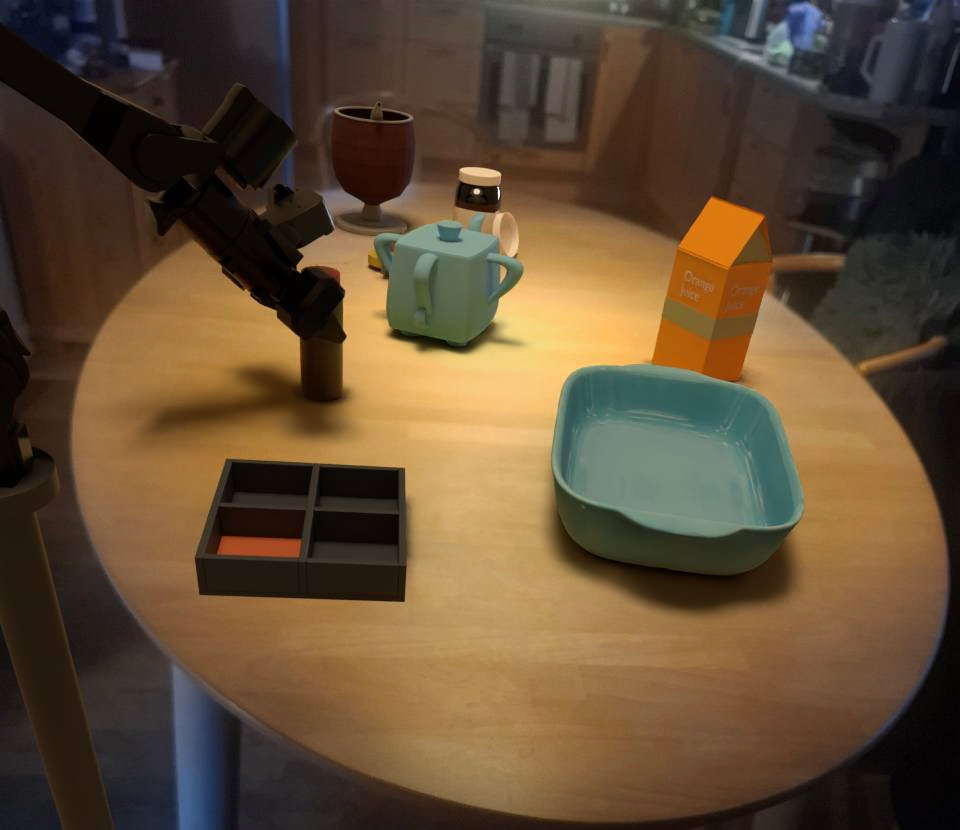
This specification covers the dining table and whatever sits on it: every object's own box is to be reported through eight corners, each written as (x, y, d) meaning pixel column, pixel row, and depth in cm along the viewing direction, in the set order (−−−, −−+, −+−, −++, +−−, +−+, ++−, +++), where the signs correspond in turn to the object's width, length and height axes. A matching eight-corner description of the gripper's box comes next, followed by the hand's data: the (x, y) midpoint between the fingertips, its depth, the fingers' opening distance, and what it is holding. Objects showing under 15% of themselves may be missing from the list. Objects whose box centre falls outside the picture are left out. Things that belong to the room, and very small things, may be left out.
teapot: (522, 351, 115) (536, 242, 107) (400, 356, 110) (405, 241, 101) (475, 304, 128) (484, 203, 120) (364, 306, 123) (365, 200, 114)
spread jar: (453, 237, 155) (458, 162, 147) (517, 244, 155) (526, 170, 148) (448, 256, 145) (454, 178, 138) (517, 264, 146) (526, 186, 138)
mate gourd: (329, 212, 159) (328, 82, 147) (406, 217, 162) (411, 90, 150) (334, 237, 148) (333, 98, 135) (417, 241, 150) (424, 105, 138)
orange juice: (697, 388, 111) (742, 216, 99) (650, 362, 116) (687, 196, 104) (740, 379, 115) (788, 213, 102) (692, 354, 120) (733, 194, 108)
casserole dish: (558, 406, 103) (567, 345, 98) (751, 434, 102) (769, 374, 97) (529, 583, 74) (541, 509, 69) (798, 625, 73) (827, 552, 68)
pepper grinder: (299, 399, 97) (295, 276, 89) (302, 382, 101) (299, 263, 93) (341, 401, 98) (342, 280, 90) (343, 385, 101) (344, 266, 93)
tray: (199, 595, 68) (194, 557, 66) (229, 493, 81) (225, 458, 78) (404, 602, 70) (406, 565, 68) (403, 501, 82) (405, 467, 80)
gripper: (325, 184, 77) (426, 301, 89) (242, 139, 89) (341, 248, 101) (244, 285, 78) (355, 387, 90) (172, 227, 90) (279, 325, 102)
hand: (333, 332), depth 96 cm, fingers closed on pepper grinder, 4 cm apart
